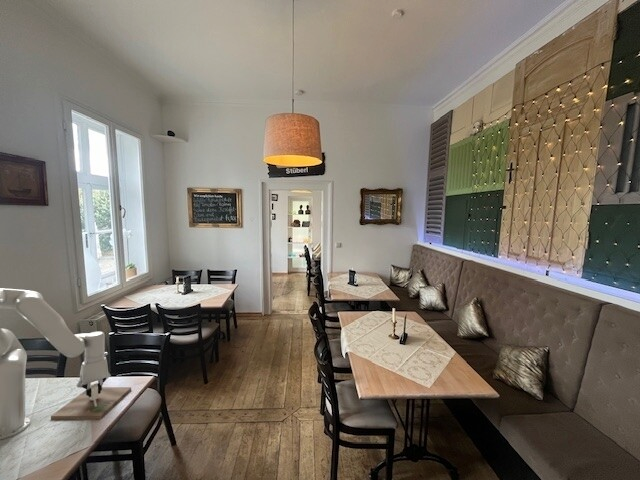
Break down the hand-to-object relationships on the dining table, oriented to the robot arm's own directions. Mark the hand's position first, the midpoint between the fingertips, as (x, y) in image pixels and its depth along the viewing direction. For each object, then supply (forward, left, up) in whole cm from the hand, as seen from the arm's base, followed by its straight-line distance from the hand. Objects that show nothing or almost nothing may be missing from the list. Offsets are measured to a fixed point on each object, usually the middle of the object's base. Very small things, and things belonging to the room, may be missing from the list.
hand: (94, 393), depth 132 cm
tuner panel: (-1, -1, -4) cm, 4 cm away
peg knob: (-2, -2, -2) cm, 4 cm away
